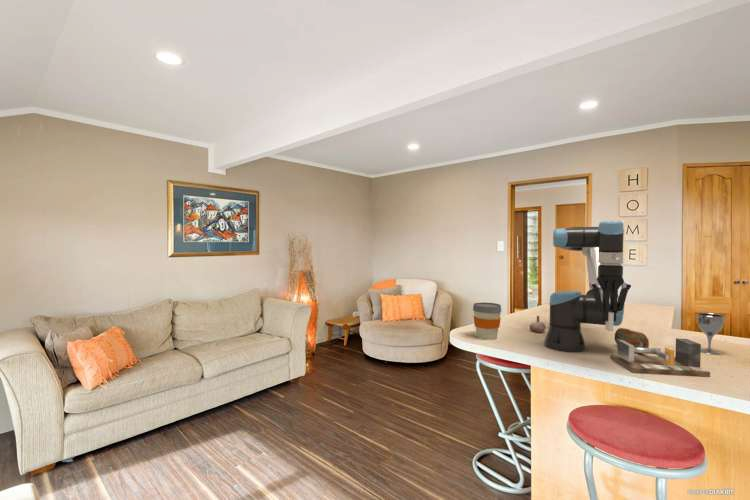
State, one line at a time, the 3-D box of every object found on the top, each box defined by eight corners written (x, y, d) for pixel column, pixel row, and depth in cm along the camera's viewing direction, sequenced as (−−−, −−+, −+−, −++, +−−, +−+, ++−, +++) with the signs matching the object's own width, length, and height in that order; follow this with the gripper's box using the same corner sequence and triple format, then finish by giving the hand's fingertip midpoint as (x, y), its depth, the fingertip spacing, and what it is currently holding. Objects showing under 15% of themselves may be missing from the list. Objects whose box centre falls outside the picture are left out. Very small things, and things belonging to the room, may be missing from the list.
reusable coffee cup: (471, 333, 177) (471, 302, 177) (498, 334, 176) (498, 302, 175) (474, 340, 165) (474, 306, 165) (503, 341, 163) (504, 307, 163)
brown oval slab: (613, 345, 157) (614, 325, 157) (620, 345, 157) (621, 325, 157) (642, 356, 142) (643, 334, 142) (650, 356, 142) (650, 334, 142)
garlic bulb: (544, 334, 176) (544, 317, 176) (527, 332, 180) (528, 315, 180) (546, 331, 182) (546, 315, 182) (530, 329, 186) (531, 313, 186)
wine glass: (690, 349, 151) (691, 312, 151) (708, 348, 152) (709, 312, 152) (710, 355, 144) (710, 316, 143) (728, 354, 144) (729, 316, 144)
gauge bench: (632, 372, 124) (633, 344, 124) (610, 357, 140) (610, 333, 140) (709, 376, 120) (710, 348, 120) (678, 361, 136) (678, 335, 136)
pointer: (670, 364, 123) (670, 350, 123) (664, 361, 126) (664, 347, 126) (674, 365, 123) (674, 350, 123) (668, 362, 126) (668, 347, 126)
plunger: (633, 364, 125) (633, 348, 125) (617, 354, 136) (617, 339, 136) (671, 366, 123) (671, 350, 123) (652, 356, 134) (652, 341, 134)
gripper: (595, 264, 129) (594, 331, 129) (636, 265, 127) (634, 333, 127) (586, 263, 136) (585, 327, 137) (624, 264, 134) (623, 328, 135)
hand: (609, 330), depth 132 cm, fingers closed
